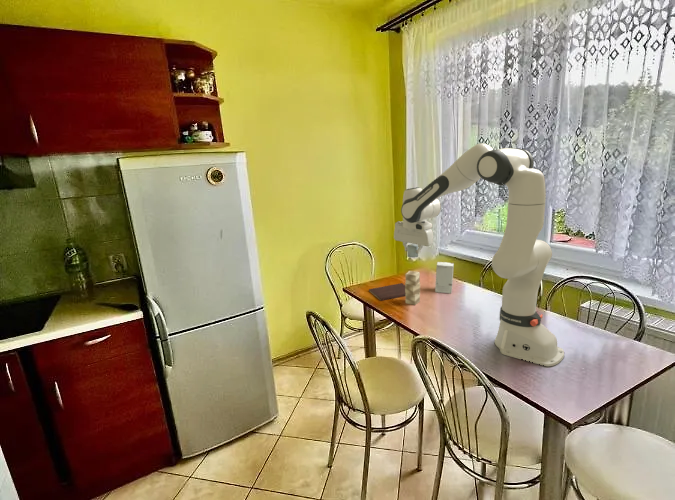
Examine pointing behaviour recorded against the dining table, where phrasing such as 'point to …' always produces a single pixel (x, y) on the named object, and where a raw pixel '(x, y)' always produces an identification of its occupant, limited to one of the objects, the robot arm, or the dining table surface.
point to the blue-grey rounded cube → (412, 250)
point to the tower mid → (412, 289)
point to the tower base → (412, 299)
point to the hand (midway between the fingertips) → (412, 252)
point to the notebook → (389, 292)
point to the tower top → (412, 278)
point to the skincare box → (444, 277)
